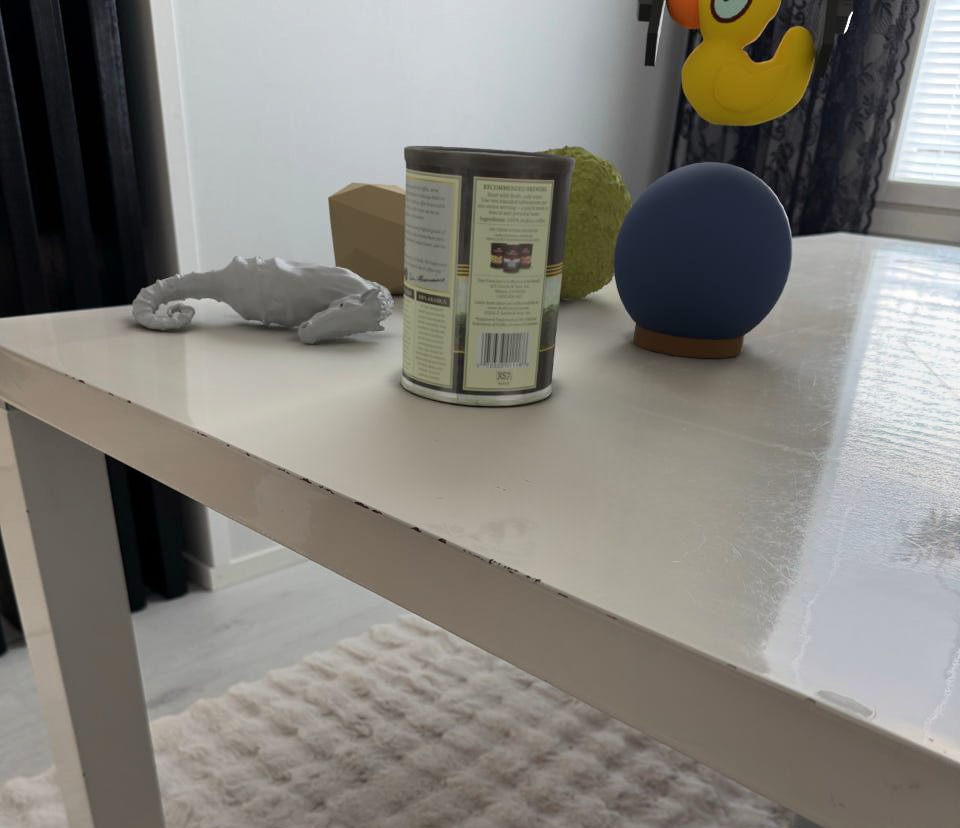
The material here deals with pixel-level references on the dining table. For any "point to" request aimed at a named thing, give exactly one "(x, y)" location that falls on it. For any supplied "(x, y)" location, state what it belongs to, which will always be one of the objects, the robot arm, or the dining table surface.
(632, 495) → the dining table surface
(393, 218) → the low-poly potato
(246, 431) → the dining table surface
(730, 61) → the duckling
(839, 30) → the robot arm
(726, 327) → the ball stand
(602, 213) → the fruit
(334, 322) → the seahorse
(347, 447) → the dining table surface
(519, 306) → the coffee can
